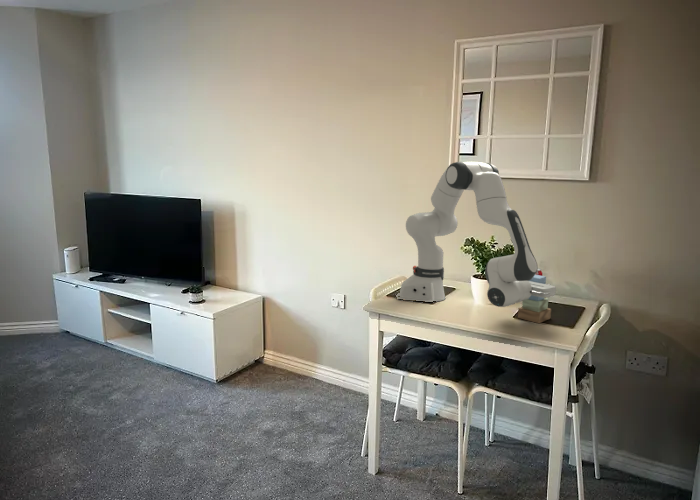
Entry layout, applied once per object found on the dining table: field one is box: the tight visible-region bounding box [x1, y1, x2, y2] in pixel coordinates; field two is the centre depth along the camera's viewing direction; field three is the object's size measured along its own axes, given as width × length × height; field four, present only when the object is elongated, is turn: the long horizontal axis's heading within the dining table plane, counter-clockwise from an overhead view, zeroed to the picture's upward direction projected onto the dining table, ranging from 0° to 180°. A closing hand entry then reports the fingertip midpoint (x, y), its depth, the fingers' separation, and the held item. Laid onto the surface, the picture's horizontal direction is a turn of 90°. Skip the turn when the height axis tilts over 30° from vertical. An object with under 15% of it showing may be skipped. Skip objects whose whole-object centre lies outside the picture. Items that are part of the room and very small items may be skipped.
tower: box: [517, 298, 552, 324], centre depth 197 cm, size 9×9×8 cm
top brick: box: [528, 275, 547, 301], centre depth 196 cm, size 5×5×9 cm
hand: (537, 283), depth 196 cm, fingers open, 8 cm apart
